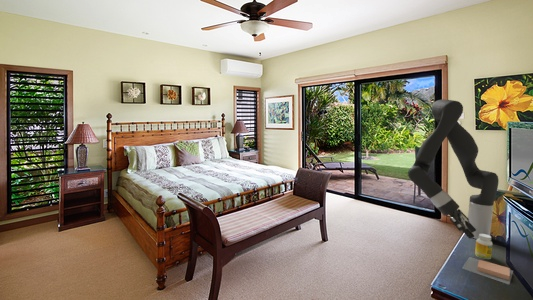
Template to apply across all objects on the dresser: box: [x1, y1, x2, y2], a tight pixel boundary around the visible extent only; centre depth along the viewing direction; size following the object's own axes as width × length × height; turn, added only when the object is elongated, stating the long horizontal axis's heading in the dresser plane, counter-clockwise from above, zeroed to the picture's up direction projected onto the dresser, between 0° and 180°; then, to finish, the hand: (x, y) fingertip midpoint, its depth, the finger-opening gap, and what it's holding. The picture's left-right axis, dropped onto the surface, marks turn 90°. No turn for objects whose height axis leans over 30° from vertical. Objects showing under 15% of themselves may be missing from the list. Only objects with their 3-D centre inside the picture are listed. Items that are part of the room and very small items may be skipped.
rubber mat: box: [461, 256, 514, 286], centre depth 102 cm, size 13×14×1 cm
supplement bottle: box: [474, 234, 493, 260], centre depth 112 cm, size 5×5×10 cm
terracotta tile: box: [477, 259, 511, 280], centre depth 100 cm, size 2×7×9 cm
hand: (473, 234), depth 114 cm, fingers open, 8 cm apart
